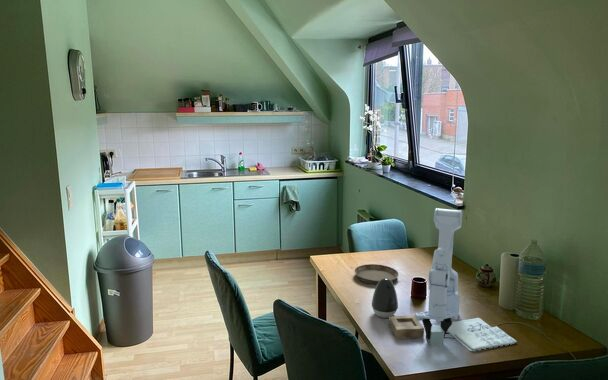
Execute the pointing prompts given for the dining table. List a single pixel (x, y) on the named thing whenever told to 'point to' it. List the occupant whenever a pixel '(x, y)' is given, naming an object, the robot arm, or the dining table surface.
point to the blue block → (436, 335)
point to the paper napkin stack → (478, 334)
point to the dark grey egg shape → (385, 299)
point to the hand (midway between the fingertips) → (435, 337)
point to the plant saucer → (375, 273)
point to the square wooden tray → (406, 327)
